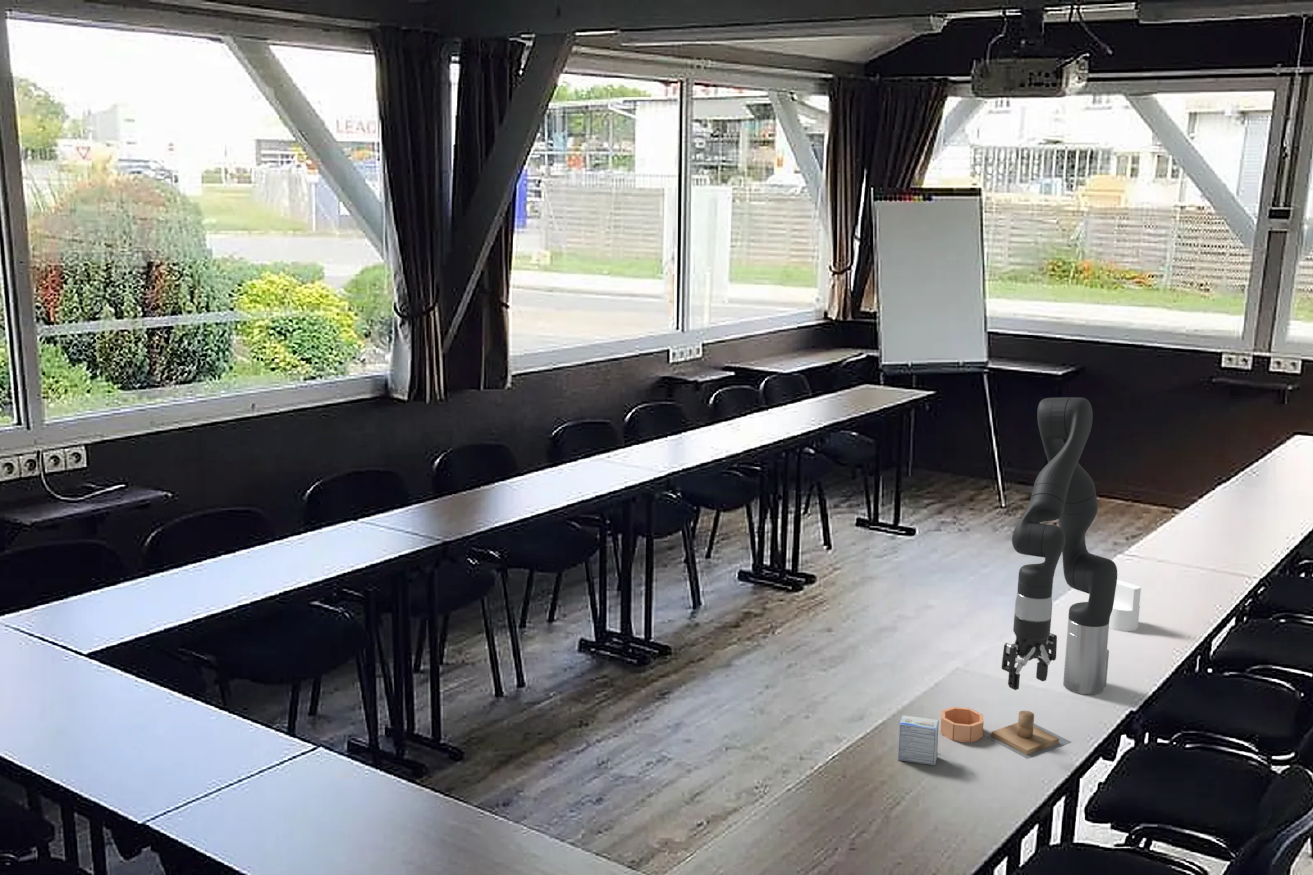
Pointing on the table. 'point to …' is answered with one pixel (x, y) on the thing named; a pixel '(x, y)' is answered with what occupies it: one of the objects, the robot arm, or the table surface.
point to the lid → (1025, 735)
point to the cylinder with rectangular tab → (1125, 607)
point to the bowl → (962, 724)
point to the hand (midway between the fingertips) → (1027, 684)
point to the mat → (1061, 742)
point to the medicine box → (918, 740)
